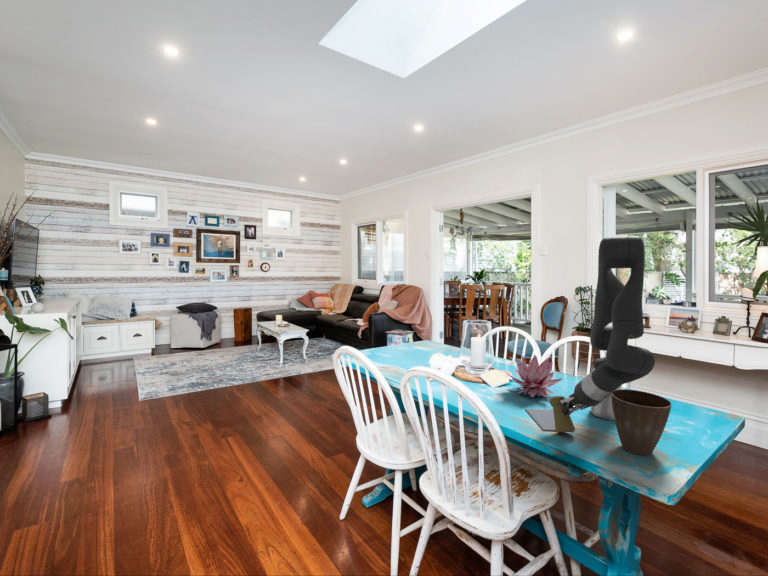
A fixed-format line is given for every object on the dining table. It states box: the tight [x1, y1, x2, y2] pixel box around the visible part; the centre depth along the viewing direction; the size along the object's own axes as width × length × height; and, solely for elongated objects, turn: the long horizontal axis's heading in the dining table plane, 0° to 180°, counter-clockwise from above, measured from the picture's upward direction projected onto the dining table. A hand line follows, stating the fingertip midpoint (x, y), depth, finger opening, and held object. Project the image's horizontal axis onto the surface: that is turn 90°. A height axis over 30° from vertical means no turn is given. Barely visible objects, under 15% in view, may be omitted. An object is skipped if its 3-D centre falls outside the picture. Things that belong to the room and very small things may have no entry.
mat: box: [525, 408, 556, 432], centre depth 133 cm, size 18×10×1 cm, turn 178°
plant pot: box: [611, 388, 673, 456], centre depth 112 cm, size 15×15×16 cm
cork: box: [549, 395, 577, 433], centre depth 124 cm, size 6×6×11 cm
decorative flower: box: [505, 355, 563, 399], centre depth 159 cm, size 21×21×15 cm
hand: (565, 412), depth 122 cm, fingers closed
